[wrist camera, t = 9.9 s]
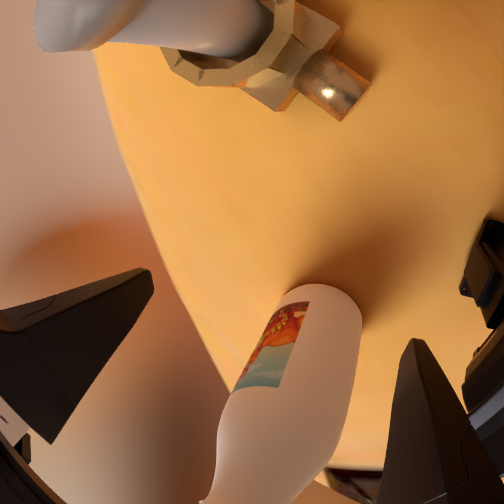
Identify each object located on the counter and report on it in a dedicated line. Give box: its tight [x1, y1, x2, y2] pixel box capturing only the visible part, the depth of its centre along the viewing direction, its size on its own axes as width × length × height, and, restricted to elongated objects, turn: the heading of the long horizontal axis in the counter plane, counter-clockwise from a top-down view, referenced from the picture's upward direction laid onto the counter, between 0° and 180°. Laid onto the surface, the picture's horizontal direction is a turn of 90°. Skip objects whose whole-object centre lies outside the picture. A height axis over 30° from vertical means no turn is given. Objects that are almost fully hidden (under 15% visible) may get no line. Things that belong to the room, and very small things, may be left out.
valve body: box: [159, 0, 372, 123], centre depth 13 cm, size 14×11×5 cm
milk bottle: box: [199, 283, 362, 504], centre depth 17 cm, size 8×8×20 cm
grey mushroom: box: [33, 0, 274, 61], centre depth 9 cm, size 5×5×12 cm
